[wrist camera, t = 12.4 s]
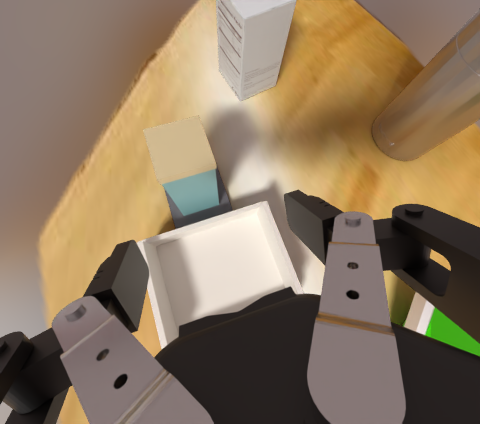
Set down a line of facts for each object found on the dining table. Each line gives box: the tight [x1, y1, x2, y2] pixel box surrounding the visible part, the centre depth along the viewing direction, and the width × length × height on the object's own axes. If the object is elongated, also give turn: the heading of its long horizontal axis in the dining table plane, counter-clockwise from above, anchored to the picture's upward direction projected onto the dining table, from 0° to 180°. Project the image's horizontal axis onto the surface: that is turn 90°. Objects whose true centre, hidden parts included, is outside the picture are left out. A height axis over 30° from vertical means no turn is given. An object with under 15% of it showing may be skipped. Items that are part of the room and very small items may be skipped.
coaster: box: [164, 165, 233, 229], centre depth 32 cm, size 8×8×1 cm
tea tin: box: [143, 115, 219, 216], centre depth 26 cm, size 5×5×12 cm
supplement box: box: [216, 0, 296, 101], centre depth 32 cm, size 7×7×13 cm
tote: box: [137, 201, 304, 349], centre depth 27 cm, size 15×13×6 cm
